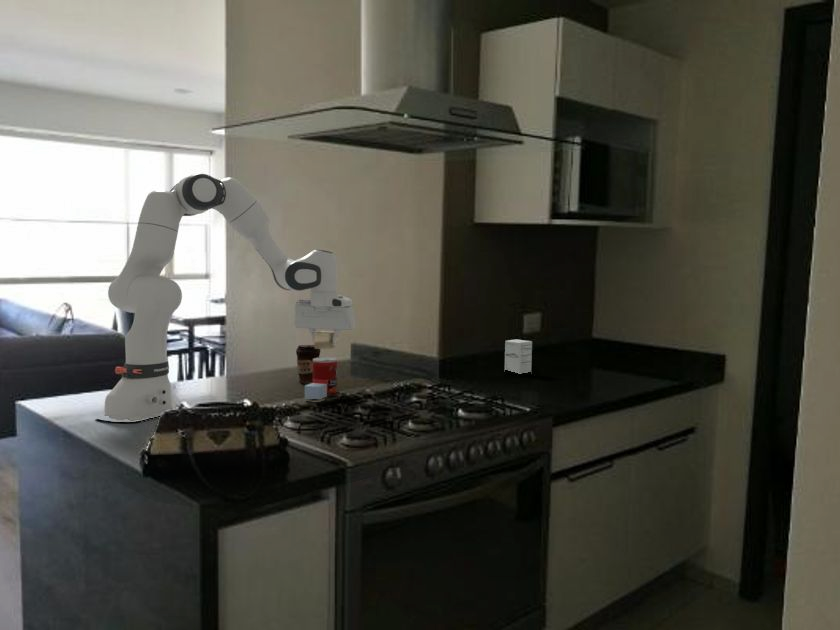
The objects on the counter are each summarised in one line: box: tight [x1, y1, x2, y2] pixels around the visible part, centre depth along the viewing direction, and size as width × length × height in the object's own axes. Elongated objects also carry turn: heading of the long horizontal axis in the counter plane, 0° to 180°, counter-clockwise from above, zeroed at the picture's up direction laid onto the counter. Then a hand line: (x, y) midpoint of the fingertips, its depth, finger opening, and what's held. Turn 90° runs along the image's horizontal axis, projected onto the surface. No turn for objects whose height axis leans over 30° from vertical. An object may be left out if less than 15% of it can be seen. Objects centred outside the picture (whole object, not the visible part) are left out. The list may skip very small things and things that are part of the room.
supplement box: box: [504, 338, 533, 374], centre depth 280 cm, size 7×7×13 cm
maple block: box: [313, 330, 336, 350], centre depth 243 cm, size 5×5×5 cm
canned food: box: [313, 356, 338, 395], centre depth 244 cm, size 8×8×11 cm
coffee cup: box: [295, 344, 322, 384], centre depth 261 cm, size 9×8×13 cm
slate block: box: [304, 383, 328, 400], centre depth 231 cm, size 5×5×5 cm
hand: (324, 342), depth 243 cm, fingers closed on maple block, 5 cm apart
